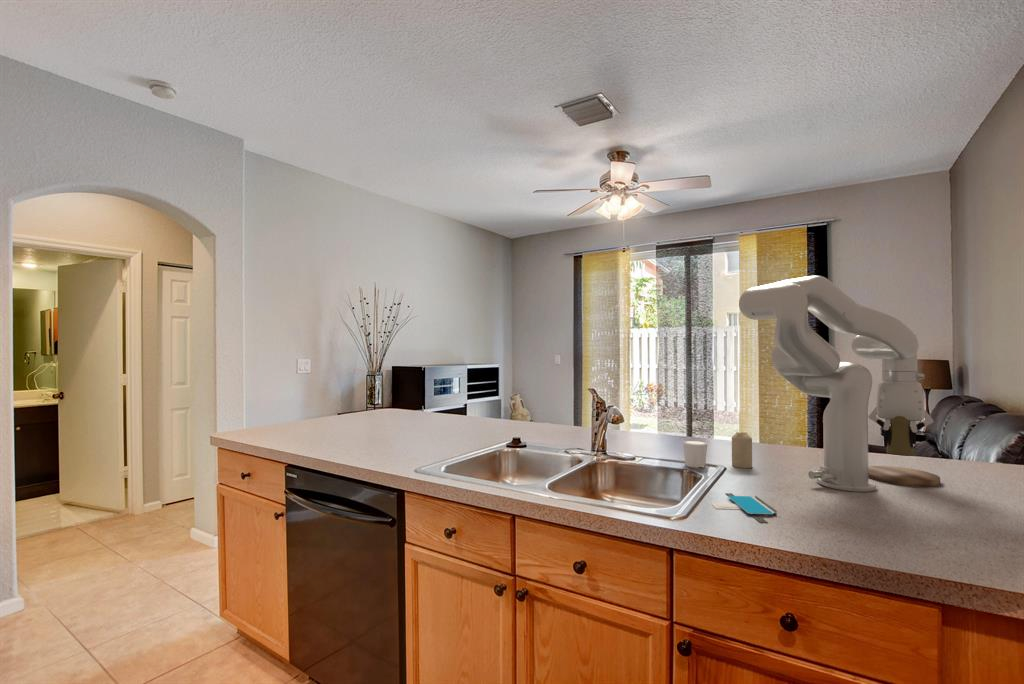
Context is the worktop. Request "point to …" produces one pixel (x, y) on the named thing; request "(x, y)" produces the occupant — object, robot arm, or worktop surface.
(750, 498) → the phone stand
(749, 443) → the candle
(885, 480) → the walnut board
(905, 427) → the olive green pepper mill
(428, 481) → the worktop surface
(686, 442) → the white cup
